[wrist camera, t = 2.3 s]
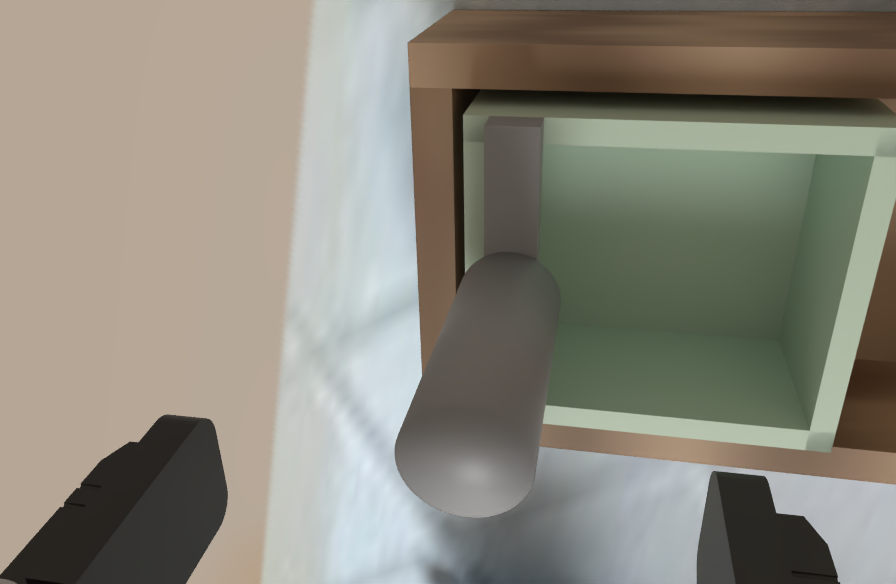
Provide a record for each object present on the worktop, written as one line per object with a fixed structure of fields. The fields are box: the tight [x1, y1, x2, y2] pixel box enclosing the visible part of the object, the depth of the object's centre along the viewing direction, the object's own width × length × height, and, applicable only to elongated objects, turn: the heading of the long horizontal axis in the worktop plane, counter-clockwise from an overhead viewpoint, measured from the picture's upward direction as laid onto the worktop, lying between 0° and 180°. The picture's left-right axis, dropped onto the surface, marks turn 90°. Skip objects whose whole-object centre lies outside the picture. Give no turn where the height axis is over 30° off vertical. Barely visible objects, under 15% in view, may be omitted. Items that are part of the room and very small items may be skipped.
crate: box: [395, 89, 896, 518], centre depth 18 cm, size 9×8×12 cm
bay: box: [408, 10, 896, 484], centre depth 21 cm, size 20×11×5 cm, turn 92°
